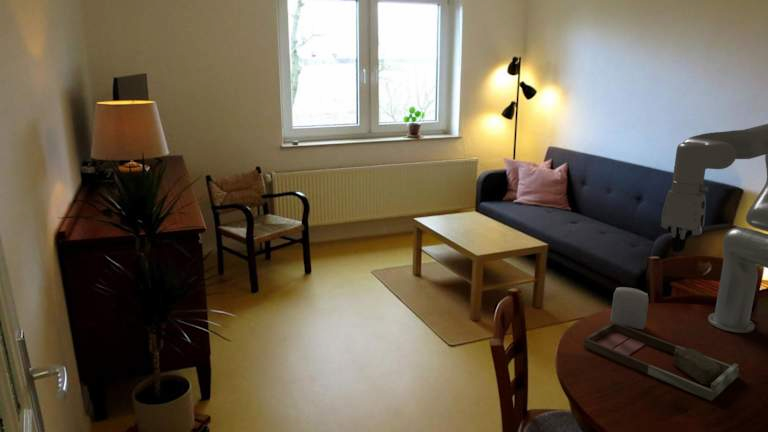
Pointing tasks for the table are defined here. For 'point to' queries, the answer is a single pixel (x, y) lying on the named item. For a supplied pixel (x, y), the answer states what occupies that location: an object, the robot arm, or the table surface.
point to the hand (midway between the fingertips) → (677, 250)
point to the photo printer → (629, 307)
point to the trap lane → (631, 345)
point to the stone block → (697, 366)
